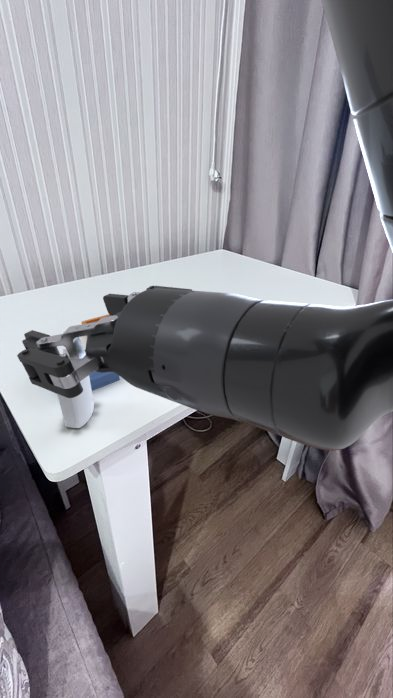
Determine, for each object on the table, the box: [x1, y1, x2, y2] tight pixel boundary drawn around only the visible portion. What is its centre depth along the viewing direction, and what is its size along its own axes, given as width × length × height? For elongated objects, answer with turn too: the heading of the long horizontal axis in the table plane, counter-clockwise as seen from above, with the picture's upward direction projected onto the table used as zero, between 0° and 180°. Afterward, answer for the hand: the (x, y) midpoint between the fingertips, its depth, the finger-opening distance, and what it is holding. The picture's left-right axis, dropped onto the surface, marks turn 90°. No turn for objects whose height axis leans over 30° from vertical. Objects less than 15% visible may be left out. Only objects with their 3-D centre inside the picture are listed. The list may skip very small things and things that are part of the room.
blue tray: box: [84, 348, 121, 391], centre depth 56 cm, size 9×9×2 cm
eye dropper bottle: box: [57, 346, 95, 429], centre depth 46 cm, size 4×6×12 cm
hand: (72, 321), depth 32 cm, fingers open, 8 cm apart
